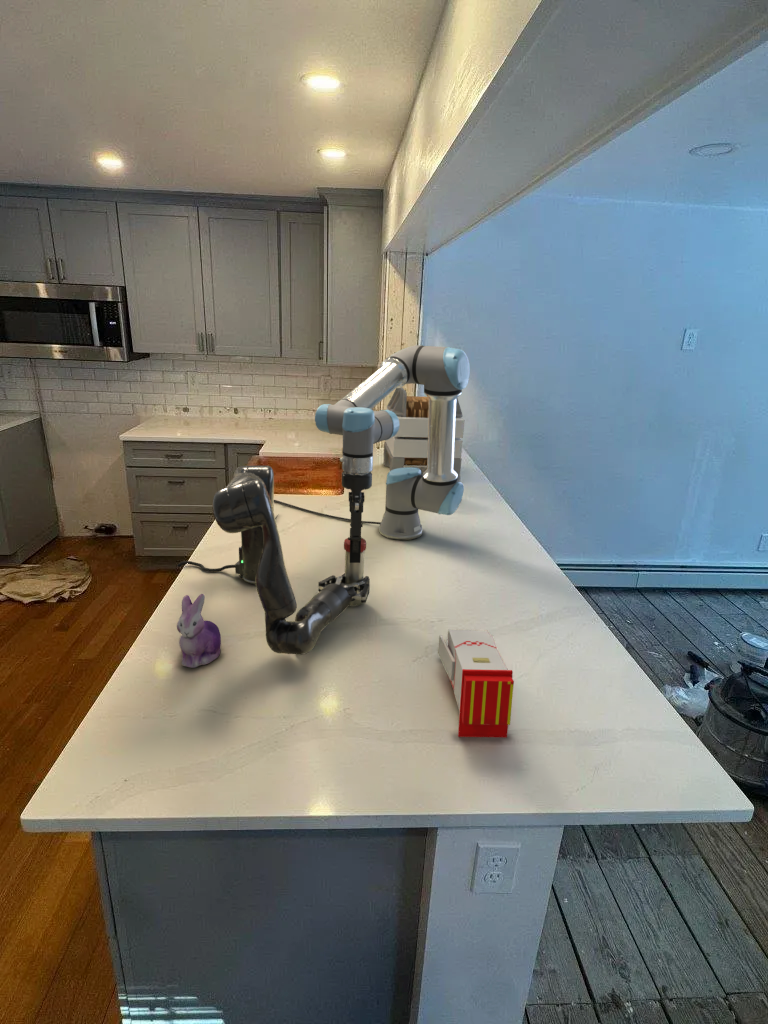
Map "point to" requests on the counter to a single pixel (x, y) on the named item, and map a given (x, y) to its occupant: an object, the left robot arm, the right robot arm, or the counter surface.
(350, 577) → the jar
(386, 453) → the white wooden crate
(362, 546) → the lid
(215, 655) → the figurine
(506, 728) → the toy
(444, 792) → the counter surface
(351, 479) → the right robot arm
